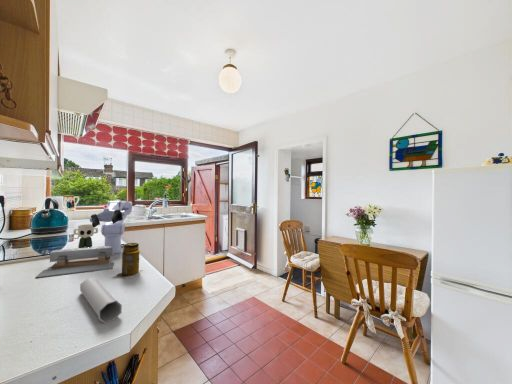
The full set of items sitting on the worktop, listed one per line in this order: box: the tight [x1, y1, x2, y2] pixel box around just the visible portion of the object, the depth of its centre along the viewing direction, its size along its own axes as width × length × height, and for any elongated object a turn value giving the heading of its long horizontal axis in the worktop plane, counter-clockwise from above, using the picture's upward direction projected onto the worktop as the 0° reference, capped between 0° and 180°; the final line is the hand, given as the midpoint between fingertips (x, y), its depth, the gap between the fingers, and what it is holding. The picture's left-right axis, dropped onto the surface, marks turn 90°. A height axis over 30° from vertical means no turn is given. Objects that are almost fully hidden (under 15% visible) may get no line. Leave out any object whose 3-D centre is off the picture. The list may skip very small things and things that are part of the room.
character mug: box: [73, 223, 99, 248], centre depth 122 cm, size 11×7×13 cm, turn 125°
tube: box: [79, 277, 123, 324], centre depth 63 cm, size 5×5×25 cm
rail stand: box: [50, 253, 112, 269], centre depth 97 cm, size 8×20×4 cm, turn 120°
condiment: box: [113, 242, 144, 279], centre depth 86 cm, size 7×8×12 cm
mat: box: [34, 261, 115, 279], centre depth 89 cm, size 8×24×1 cm, turn 120°
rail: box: [49, 245, 114, 263], centre depth 97 cm, size 4×22×4 cm, turn 120°
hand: (103, 223), depth 96 cm, fingers open, 7 cm apart
